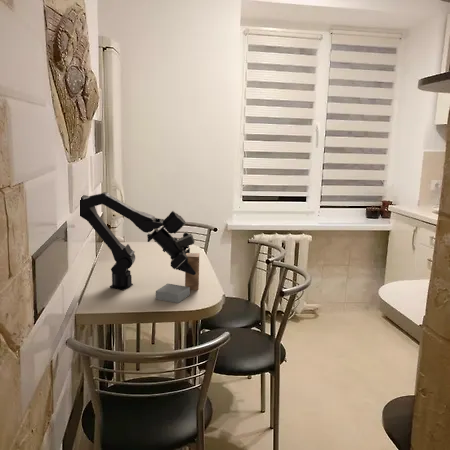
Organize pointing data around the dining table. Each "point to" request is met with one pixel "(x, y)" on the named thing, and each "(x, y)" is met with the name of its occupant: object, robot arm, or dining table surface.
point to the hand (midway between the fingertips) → (195, 270)
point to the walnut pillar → (191, 279)
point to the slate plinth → (172, 293)
